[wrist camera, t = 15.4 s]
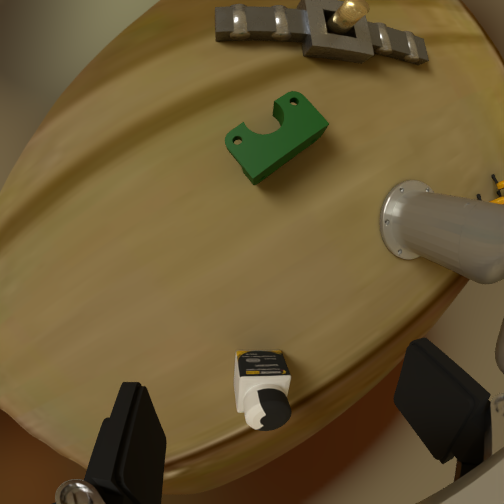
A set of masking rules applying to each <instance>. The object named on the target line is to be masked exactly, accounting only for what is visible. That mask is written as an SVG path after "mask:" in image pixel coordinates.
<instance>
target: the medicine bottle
mask: <svg viewBox="0 0 504 504" xmlns="http://www.w3.org/2000/svg"><path fill="white" fill-rule="evenodd" d="M290 381H291V375H290V372H289V370H288V367H287V364H286V362H285V359H284V357H283V354H282V352H281V351H280V350H237V351H236V357H235V372H234V390H235V398H236V406H237V411H238V412H239V413H243V412H245V419H246V422H247V424H248V425H249V426H250V427H252V428H254V429H256V430H260V431H269V430H274V429H277V428H279V427H281V426H283V425H284V424H285V423H286V422H287V421H288V420H289V418H290V416H291V408H290V405H289V402H288V399H287V395H288V391H289V386H290Z"/></svg>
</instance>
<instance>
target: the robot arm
mask: <svg viewBox="0 0 504 504" xmlns="http://www.w3.org/2000/svg"><path fill="white" fill-rule="evenodd" d="M380 231H381V235H382V239H383V241H384V243H385V245H386V247H387V248H388V249H389V251H390V252H392V253H393V254H394V255H396V256H398V257H400V258H402V259H408V260H410V259H415V258H418V257H420V256H422V257H424V258H426V259H428V260H430V261H433V262H435V263H437V264H439V265H441V266H443V267H446V268H448V269H450V270H452V271H454V272H456V273H458V274H460V275H462V276H464V277H466V278H469V279H471V280H473V281H475V282H477V283H481V284H492V283H496V282H498V281H501V280H502V279H504V205H502V204H497V203H492V202H486V201H480V200H475V199H469V198H463V197H457V196H451V195H445V194H438V193H434V191H433V190H432V189H431V188H430V187H429V186H428V185H427V184H425V183H423V182H421V181H416V180H407V181H403V182H401V183H399V184H397V185H396V186H395V187H394V188H393V189H392V190H391V191H390V192H389V193H388V195H387V197H386V199H385V200H384V203H383V206H382V209H381V214H380ZM495 359H496V363H497V366H498V367H499V369H500V371H501V372H502V373H503V374H504V319H503V322H502V325H501V329H500V332H499V336H498V339H497V343H496V348H495ZM489 397H490V393H489V392H487V391H486V390H485V389H484V388H483V387H482V386H481V385H480V384H479V383H477V382H476V381H475V380H474V379H473V378H472V377H471V376H470V375H469V374H467V373H466V372H465V371H464V370H463V369H462V368H461V367H459V366H458V365H457V364H456V363H455V362H454V361H453V360H451V359H450V358H449V357H448V356H447V355H445V353H443V352H442V351H441V350H440V349H439V348H438V347H436V346H435V345H434V344H433V343H431V342H430V341H429V340H428V339H427V338H420V339H417V340H414V341H412V342H411V343H410V345H409V346H408V347H407V350H406V354H405V358H404V362H403V366H402V370H401V374H400V377H399V381H398V385H397V388H396V391H395V395H394V403H395V405H396V407H397V408H398V409H399V411H401V413H402V415H403V416H404V417H405V418H406V420H407V421H408V422H409V424H410V425H411V426H412V428H413V429H414V431H415V432H416V433H417V435H418V436H419V437H420V439H421V440H422V442H423V443H424V444H425V445H426V447H427V448H428V450H429V451H430V453H431V454H432V455H433V457H434V458H435V459H437V460H440V462H441V463H442V464H444V463H446V462H447V461H449V460H450V459H452V458H453V457H454V456H455V457H456V458H457V464H456V471H455V477H454V482H453V483H451V484H450V485H448V486H447V487H445V488H443V489H442V490H440V491H438V492H437V493H435V494H433V495H431V496H429V497H428V498H426V499H424V500H422V501H420V502H418V503H416V504H504V393H501V394H497V395H495V396H494V397H493V398H492V400H491V402H490V401H489V400H488V399H489ZM165 453H166V436H165V434H164V431H163V429H162V427H161V424H160V422H159V419H158V417H157V414H156V412H155V409H154V406H153V404H152V401H151V398H150V396H149V393H148V390H147V388H146V387H145V386H141V384H140V383H139V382H123V383H122V385H121V387H120V390H119V393H118V396H117V398H116V401H115V404H114V407H113V410H112V413H111V416H110V418H105V419H104V421H103V423H102V425H101V428H100V431H99V434H98V437H97V440H96V443H95V446H94V449H93V452H92V455H91V459H90V462H89V465H88V468H87V472H86V475H85V478H84V481H83V480H79V479H73V480H69V481H66V482H65V483H63V484H61V486H60V487H59V488H58V489H57V492H56V496H55V500H56V502H55V503H53V504H161V497H162V485H163V473H164V463H165Z"/></svg>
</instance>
